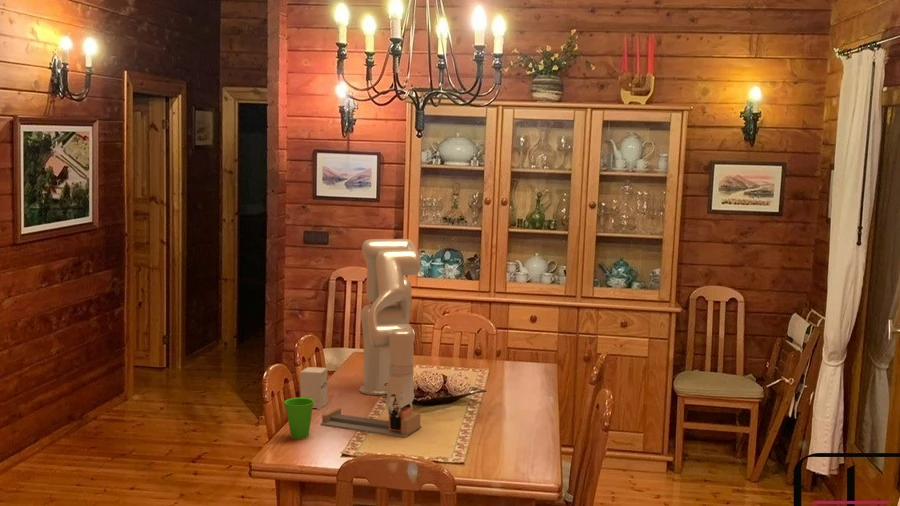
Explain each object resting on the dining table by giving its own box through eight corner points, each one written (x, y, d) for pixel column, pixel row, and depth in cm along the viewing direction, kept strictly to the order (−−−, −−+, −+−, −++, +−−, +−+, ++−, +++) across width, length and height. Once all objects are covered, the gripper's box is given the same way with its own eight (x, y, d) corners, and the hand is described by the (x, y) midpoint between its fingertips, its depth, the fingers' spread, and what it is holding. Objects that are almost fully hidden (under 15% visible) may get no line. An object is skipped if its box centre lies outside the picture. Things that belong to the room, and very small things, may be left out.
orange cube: (398, 424, 285) (398, 405, 285) (412, 426, 283) (412, 407, 283) (388, 429, 280) (388, 410, 279) (403, 431, 278) (403, 412, 277)
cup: (303, 430, 282) (302, 395, 280) (320, 437, 275) (320, 401, 274) (278, 436, 275) (278, 401, 274) (296, 443, 269) (295, 407, 268)
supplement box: (320, 409, 304) (320, 372, 302) (299, 408, 305) (299, 371, 304) (328, 403, 311) (327, 367, 310) (307, 402, 313) (307, 366, 311)
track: (338, 415, 297) (338, 401, 296) (421, 427, 285) (421, 412, 284) (320, 425, 287) (320, 409, 286) (405, 437, 275) (405, 421, 274)
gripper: (403, 362, 289) (403, 416, 291) (376, 374, 273) (377, 432, 275) (424, 364, 286) (424, 419, 288) (399, 377, 270) (399, 435, 272)
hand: (401, 425), depth 281 cm, fingers open, 7 cm apart
